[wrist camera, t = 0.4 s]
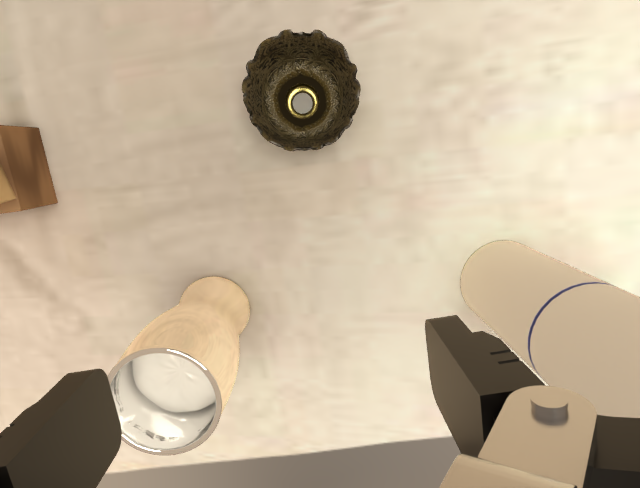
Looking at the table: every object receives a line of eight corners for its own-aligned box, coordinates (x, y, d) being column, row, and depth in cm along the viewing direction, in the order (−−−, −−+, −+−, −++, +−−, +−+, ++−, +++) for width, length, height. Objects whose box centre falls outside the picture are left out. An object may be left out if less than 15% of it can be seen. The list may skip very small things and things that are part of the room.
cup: (255, 149, 37) (241, 149, 29) (255, 52, 36) (241, 25, 28) (347, 152, 38) (357, 153, 30) (351, 56, 36) (363, 30, 28)
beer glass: (157, 302, 40) (70, 393, 25) (220, 254, 39) (168, 319, 24) (210, 361, 41) (155, 481, 26) (271, 316, 40) (251, 413, 26)
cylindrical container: (473, 232, 39) (750, 373, 15) (552, 249, 40) (945, 413, 15) (450, 310, 41) (668, 557, 16) (527, 326, 41) (851, 588, 17)
